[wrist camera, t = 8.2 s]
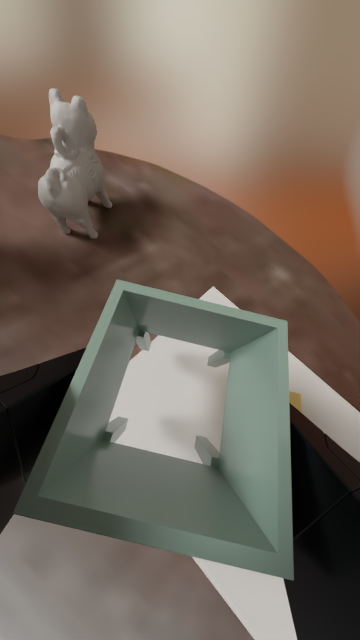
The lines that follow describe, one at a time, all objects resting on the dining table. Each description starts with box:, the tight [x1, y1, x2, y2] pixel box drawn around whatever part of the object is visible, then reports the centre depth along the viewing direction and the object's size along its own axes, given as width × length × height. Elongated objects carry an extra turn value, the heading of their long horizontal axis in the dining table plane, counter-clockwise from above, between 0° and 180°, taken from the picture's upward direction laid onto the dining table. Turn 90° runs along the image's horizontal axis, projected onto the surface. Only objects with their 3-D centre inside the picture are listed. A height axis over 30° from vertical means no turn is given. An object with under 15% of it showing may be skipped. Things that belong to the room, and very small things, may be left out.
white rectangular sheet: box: [109, 287, 360, 640], centre depth 17 cm, size 25×20×1 cm
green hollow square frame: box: [13, 279, 294, 581], centre depth 10 cm, size 7×7×10 cm
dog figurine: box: [38, 88, 112, 239], centre depth 21 cm, size 5×13×11 cm, turn 173°
